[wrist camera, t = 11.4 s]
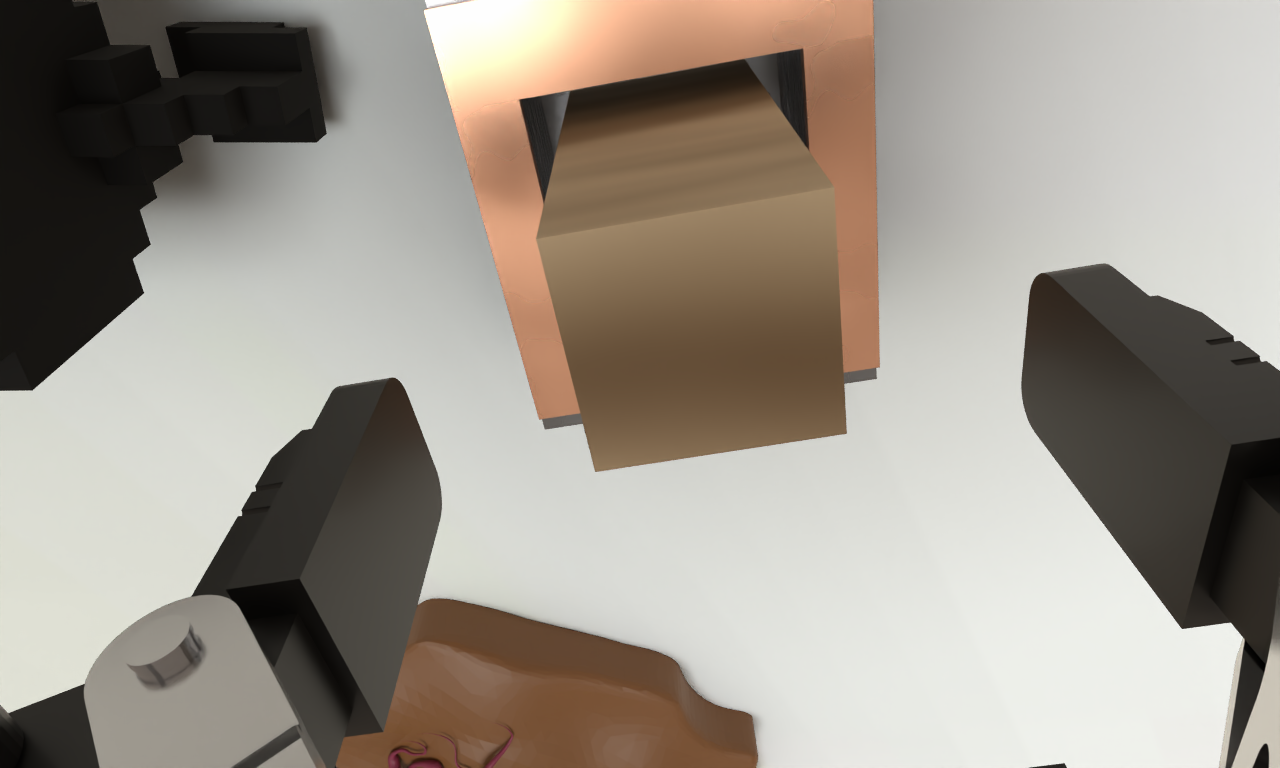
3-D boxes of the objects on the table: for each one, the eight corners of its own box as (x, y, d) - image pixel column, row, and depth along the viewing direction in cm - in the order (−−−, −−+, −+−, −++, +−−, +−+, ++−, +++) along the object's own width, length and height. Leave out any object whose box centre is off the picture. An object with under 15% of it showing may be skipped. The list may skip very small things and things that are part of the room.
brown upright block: (569, 91, 19) (535, 238, 11) (744, 58, 18) (834, 186, 11) (604, 253, 21) (595, 471, 13) (761, 226, 20) (846, 433, 13)
